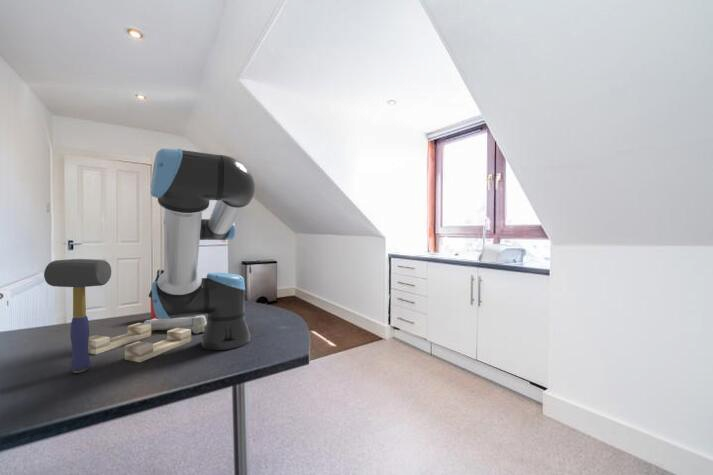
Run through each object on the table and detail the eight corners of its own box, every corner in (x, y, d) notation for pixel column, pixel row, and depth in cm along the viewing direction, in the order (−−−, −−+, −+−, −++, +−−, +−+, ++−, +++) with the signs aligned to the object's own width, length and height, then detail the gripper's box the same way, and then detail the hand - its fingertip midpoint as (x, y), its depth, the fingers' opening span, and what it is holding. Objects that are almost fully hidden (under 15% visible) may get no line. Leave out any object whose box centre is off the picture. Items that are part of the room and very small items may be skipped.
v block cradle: (191, 341, 106) (191, 329, 106) (140, 362, 89) (140, 348, 89) (138, 333, 113) (138, 322, 113) (82, 351, 96) (82, 339, 96)
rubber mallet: (42, 379, 79) (40, 260, 78) (65, 366, 86) (64, 257, 85) (96, 376, 80) (95, 260, 80) (114, 364, 88) (113, 257, 87)
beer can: (169, 319, 132) (169, 291, 131) (150, 322, 128) (150, 292, 128) (168, 316, 137) (168, 288, 137) (150, 318, 133) (150, 290, 133)
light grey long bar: (150, 317, 121) (210, 311, 118) (152, 335, 121) (212, 328, 118) (139, 321, 116) (202, 314, 113) (141, 339, 116) (204, 332, 113)
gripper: (194, 252, 129) (194, 303, 130) (136, 257, 106) (136, 319, 106) (209, 253, 127) (209, 304, 128) (152, 258, 103) (153, 321, 104)
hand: (176, 311), depth 117 cm, fingers open, 13 cm apart
